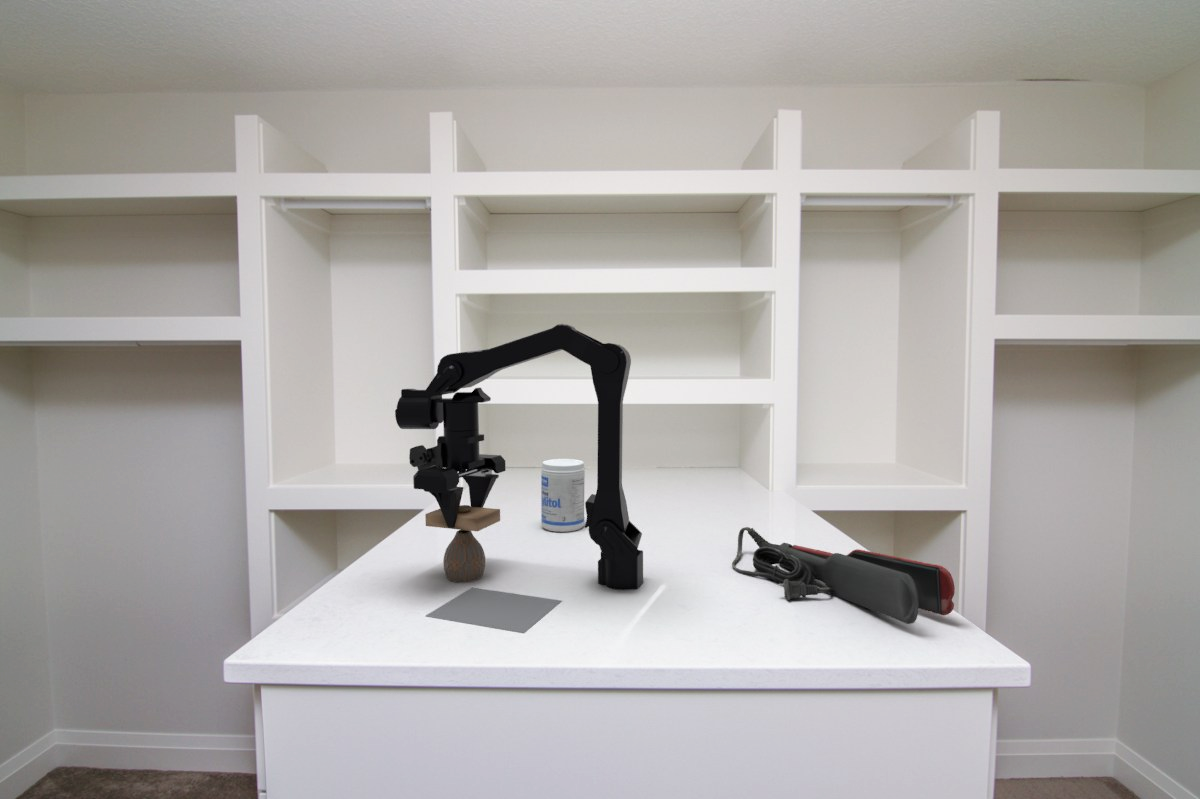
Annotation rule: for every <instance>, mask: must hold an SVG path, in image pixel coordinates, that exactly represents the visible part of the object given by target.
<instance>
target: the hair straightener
mask: <svg viewBox="0 0 1200 799" xmlns="http://www.w3.org/2000/svg"><path fill="white" fill-rule="evenodd" d="M746 531H747V534H748V535H749V537H751V539H753V541H754V543H756V545H757V547H758V548H757V549H756V550H755V551H754V552H753V558H752V565H753V567H754V569H755V570H756V571H750V570H745V569H739V568H738V567H736V563H737V562H738V560H739V559H740V558H741V556H742V551H743V538H744V533H745V532H746ZM737 535H738V537H737V551H736V557H735V558H734V559H733V560H732V563H731V565H732V570H734V571H735V572H736V573H739V574H741V575H745V576H747V577H748V576H749V577H760V578H768V579H771V580H773V581H774V582H775V583H778V584H776V585H778V586H779V587H782V586H783V589H784V590H783V591H784V598H785V600H786V601H791V599H799V598H800V597H802V598H806V597H807V596H817V595H818V594H833V595H834V596H835V597H838V598H839V599H842V600H844V601H845V600H846V602H847V601H848V602H851V603H852V604H856V605H858V606H861V607H863V608H866V609H869V610H871V611H874V612H876V613H879V614H881V615H884V616H886V617H888V618H889V617H890V618H892V619H895V620H897V621H899V622H902V623H904V624H908V625H911V624H914V623H915V622H916V621H917V619H918V614H919V610H923V611H926V612H929V613H932V614H937V615H941V616H947V615H949V614H951V613H952V612H953V610H954V609H955V608H954V607H955V603H954V602H953V599H954V597H955V596H954V595H955V582H954V579H953V576H952V574H951V573H950V571H949V570H948V569H947V568H946V567H944V566H943V565H938V564H933V563H927V562H923V561H918V560H912V559H907V558H902V557H899V556H893V555H889V554H888V555H887V554H883V553H880V552H879V553H878V552H873V551H868V550H865V549H864V550H863V549H854V550H851V552H849V553H848V554H843V553H840V552H839V553H838V552H835V553H831V552H829V551H824V550H819V549H814V548H810V547H805V546H800V545H796V544H793V545H792V544H790V543H787V542H782V543H781V544H776V543H775V544H774V543H771V542H769V541H767V540H766V539H765V538H764V537H762V536H761V535H760V534H759V532H758V531H756V530H755V529H754V528H753V527H752V528H751V527H749V526H746V527H742V528H741V529H740V530H739V532H738V534H737ZM778 564H779V565H780V566H781V567H782V568H785V569H788V570H790V572H789V571H786V570H783V569H781V568H780V567H779V566H778ZM816 580H817V581H819V582H821V583H823V584H824V585H825V586H826V587H825V586H824V587H818V586H817V585H816Z"/></svg>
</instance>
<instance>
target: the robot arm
mask: <svg viewBox="0 0 1200 799" xmlns="http://www.w3.org/2000/svg"><path fill="white" fill-rule="evenodd" d="M560 351H564V352H566V353H568V354H569V355H571V356H572V357H574V358H576V359H577V360H579V361H581V362H583V363H584V364H587V365H589V366H590V372H591V378H592V384H593V387H594V391H595V395H596V399H597V474H596V475H597V477H596V478H597V481H596V482H597V485H596V486H597V487H596V493H595V494H593V493H592V494H590V496H589V497H588V498H587V500H586V501H584V507H585V513H586V522H585V523H584V525H583V527H584V528H585V529H587V528H588V536H589V537H590V539H591V540H592V541H593V542H594V543H595V544H596V545H597V546H598V547H599V550H600V559H598V560H597V584H599V585H601V586H605V587H607V588H609V589H611V590H615V591H616V590H618V591H627V590H628V591H629V590H638V589H640V587H641V586H642V585H643V584H644V550H639V549H638V548H639V545H640V542H641V540H642V539H641V538H642V535H643V533H642V531H640V530H639V529H638V527H636V526H635V524H633V523H632V522H631V521H630V516H629V511H628V505H627V500H626V495H625V492H624V488H623V426H624V425H623V424H624V422H623V417H624V416H623V414H624V413H623V411H624V409H623V407H624V403H623V402H624V397H625V393H626V390H627V386H628V381H629V376H630V370H631V364H632V358H631V355H630V352H629V351H628V350H627V349H626V348H625V347H624V346H622V345H620V344H617V343H610V342H607V343H606V342H605V343H603V342H601V341H599V340H597V339H595V338H593V337H591V336H589V335H587V334H585V333H584V332H581V331H579V330H577V329H576V328H575V326H573V325H570V324H564V323H559V324H556V325H555V326H553V327H551V328H549V329H545V330H542V331H540V332H537V333H536V332H535V333H534V334H531V335H527V336H525V337H521V338H519V339H515V340H513V341H510V342H506V343H502V344H501V345H496V346H495V347H492V348H489V349H488V348H486V349H479V350H470V351H469V350H468V351H463V352H456V353H449V354H446V355H444V356H443V357H442V358H441V359H440V360H439V362H438V364H437V369H436V370H437V371H436V374H435V375H434V377H433V378H432V380H431V382H429V384H428V386H427V387H426V389H416V388H402V389H401V390H400V391H401V392H400V395H401V396H400V397H399V398H398V401H397V404H396V409H395V410H394V413H395V414H394V415H395V416H394V417H395V421H396V424H397V426H398V427H399V428H400V429H401V430H436V429H437V428H438V427H439V424H442V423H443V435H439V436H438V438H437V439H436V445H435V446H433V447H429V448H427V447H425V445H423V444H421V445H416V446H414V447H411V448H409V458H408V459H409V464H410V465H411V466H412V467H413V468H417V471H416V472H415V473H414V475H413V477H412V478H413V490H423V491H424V492H426V493H427V492H428V493H429V494H431V495H432V496H433V497H434V498H435V500H436V502H437V504H438V506H439V509H441V512H442V514H443V517H444V519H445V522H446V524H447V527H448V528H447V529H450V528H454V526H455V523H456V520H457V515H458V511H459V506H461V501H462V497H463V491H464V487H463V486H458V485H459V483H460V479H461V478H462V479H463V480H464V482H466V484H467V486H468V491H469V501H470V502H469V503H470V507H481V508H484V506H485V504H486V501H487V499H488V498H489V494H490V492H491V491H492V488H493V486H494V485H495V483H496V481H497V479H498V478H499V476H500V475H499V474H500V473H502V472H505V471H506V460H505V459H504V457H503V456H502V455H501V454H499V455H497V454H483V453H480V442H483V441H485V434H483V433H482V434H481V433H480V426H479V425H480V424H479V403H482V404H483V403H486V402H490V401H491V397H490V396H489V395H488V394H487V393H486V392H485V391H483V389H482V387H475V388H474V389H473V390H472V392H471V391H468V392H467V391H463V392H462V391H459V390H461V389H465V388H467V389H468V388H472V387H474V386H476V385H478V384H479V383H481V382H484V381H486V380H487V379H489V378H490V377H492V376H494V375H495V374H496V373H499V372H501V371H502V370H505V369H508V368H510V367H514V366H517V365H520V364H523V363H527V362H529V361H533V360H536V359H538V358H542V357H545V356H548V355H551V354H554V353H557V352H560ZM458 391H459V392H458ZM450 394H453V396H452V398H451V397H449V398H444V397H443V396H444V395H450ZM493 472H494V473H495V474H494V473H493Z"/></svg>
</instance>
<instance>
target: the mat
mask: <svg viewBox="0 0 1200 799" xmlns="http://www.w3.org/2000/svg"><path fill="white" fill-rule="evenodd" d="M562 602H563V600H561V599H560V600H559V599H554V598H548V597H547V598H546V597H540V596H533V595H528V594H527V595H526V594H519V593H514V592H507V591H499V590H493V589H485V588H479V587H471V588H468V589H467V590H465V591H464V592H462V593H460V594H459V595H457V596H455V597H454V598H452V599H450V600H449V601H448V602H446V603H444V604H442V605H441V606H439V607H438V608H436V609H434V610H432V611H431V612H429V613H427V614H426V615H425V617H427V618H432V619H437V620H444V621H449V622H455V623H462V624H467V625H472V626H473V625H474V626H478V627H484V628H488V629H496V630H502V631H507V632H514V633H519V634H525V633H527V632H528V631H529V630H530V629H531V628H533V626H535V625H536V624H537V623H538V622H540V621H541V619H543V618H544V617H545V616H546V615H548V614H549V613H550V612H552V610H554V609H555V608H556V607H557V606H558V605H560V604H561V603H562Z"/></svg>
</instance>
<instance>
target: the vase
mask: <svg viewBox="0 0 1200 799" xmlns="http://www.w3.org/2000/svg"><path fill="white" fill-rule="evenodd" d="M442 564H443V570H444V573H445V576H446V578H447V580H448V581H449V582H453V583H469V582H474V581H478V580H479V579H481V578H482V577H483V575H484V572H485V568H486V555H485V550H484V548H483V546H482V544H481V543H480V542H479V540H477V538H476V537H475V536H474V535H473V531H468V530H459V529H458V530H457V531H456V533H455V535H454V537H453V539H452V540H451V541H450V543H448V545H447V547H446V548H445V552H444V555H443V563H442Z"/></svg>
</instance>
